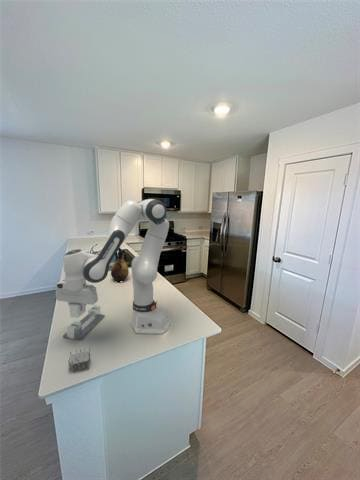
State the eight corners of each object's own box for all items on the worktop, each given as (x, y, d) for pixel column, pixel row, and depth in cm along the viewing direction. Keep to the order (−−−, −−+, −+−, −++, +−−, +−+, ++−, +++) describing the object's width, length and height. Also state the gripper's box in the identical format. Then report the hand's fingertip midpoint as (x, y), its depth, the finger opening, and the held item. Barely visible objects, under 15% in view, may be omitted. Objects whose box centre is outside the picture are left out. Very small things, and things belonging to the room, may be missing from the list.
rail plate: (105, 316, 122) (104, 306, 120) (79, 341, 99) (78, 329, 98) (90, 314, 123) (89, 304, 122) (62, 338, 101) (61, 326, 100)
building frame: (89, 369, 83) (89, 357, 82) (68, 375, 80) (67, 362, 79) (90, 358, 89) (90, 347, 88) (70, 363, 86) (69, 351, 85)
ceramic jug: (132, 279, 181) (132, 247, 176) (119, 285, 168) (118, 250, 163) (119, 275, 190) (118, 245, 184) (106, 280, 176) (104, 247, 171)
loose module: (85, 311, 100) (85, 299, 99) (77, 318, 94) (76, 305, 93) (78, 310, 100) (77, 298, 99) (70, 317, 95) (69, 304, 93)
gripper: (99, 282, 96) (101, 309, 98) (62, 279, 99) (64, 304, 101) (91, 288, 89) (93, 316, 92) (52, 284, 93) (54, 311, 95)
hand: (78, 310), depth 97 cm, fingers closed on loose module, 4 cm apart
